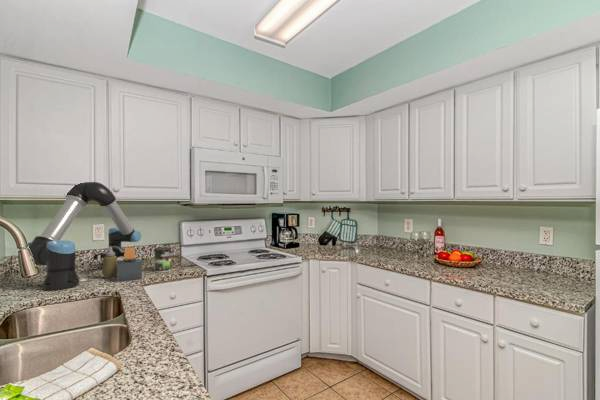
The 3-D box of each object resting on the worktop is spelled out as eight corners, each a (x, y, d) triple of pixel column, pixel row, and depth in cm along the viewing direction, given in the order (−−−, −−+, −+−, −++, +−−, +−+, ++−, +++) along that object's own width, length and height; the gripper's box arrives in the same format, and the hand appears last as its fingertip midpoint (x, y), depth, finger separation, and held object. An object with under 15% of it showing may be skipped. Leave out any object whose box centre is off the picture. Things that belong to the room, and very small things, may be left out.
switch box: (117, 281, 165) (117, 263, 165) (118, 278, 172) (117, 260, 172) (141, 279, 171) (141, 261, 171) (141, 276, 178) (141, 258, 178)
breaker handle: (123, 261, 171) (123, 248, 171) (124, 259, 174) (123, 248, 174) (135, 259, 173) (135, 248, 173) (135, 258, 177) (135, 247, 177)
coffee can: (174, 270, 193) (174, 248, 193) (159, 273, 185) (159, 250, 185) (166, 268, 199) (166, 246, 199) (150, 271, 191) (150, 248, 191)
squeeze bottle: (114, 279, 172) (114, 247, 172) (99, 279, 170) (99, 247, 170) (120, 275, 180) (120, 245, 180) (106, 276, 178) (105, 245, 178)
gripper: (135, 256, 207) (135, 262, 189) (91, 260, 195) (86, 266, 177) (135, 245, 207) (135, 249, 189) (91, 248, 195) (86, 253, 177)
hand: (111, 257), depth 183 cm, fingers open, 13 cm apart
